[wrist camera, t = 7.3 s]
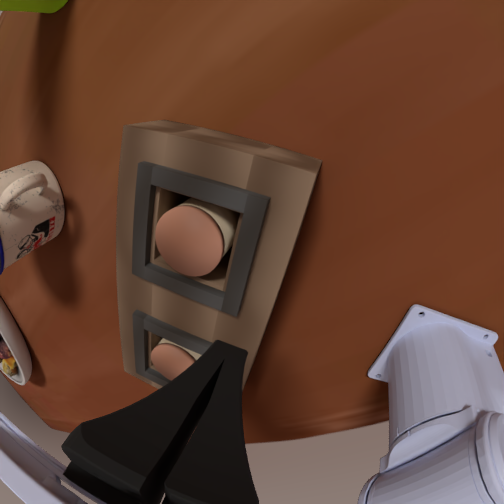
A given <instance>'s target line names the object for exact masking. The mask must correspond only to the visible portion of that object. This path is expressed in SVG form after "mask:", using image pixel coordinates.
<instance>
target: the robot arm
mask: <svg viewBox="0 0 504 504" xmlns="http://www.w3.org/2000/svg"><path fill="white" fill-rule="evenodd" d="M420 312H424V313H423V314H419V313H420ZM486 334H487V335H486ZM485 335H486V336H485ZM497 339H498V335H497V333H496V332H493V331H490V330H488V329H485V328H482V327H479V326H476V325H474V324H471V323H468V322H465V321H463V320H460V319H457V318H454V317H451V316H449V315H446V314H443V313H440V312H437V311H435V310H432V309H429V308H426V307H423V306H421V305H417V304H416V305H413V306H411V308H410V309H409V311H408V312H407V314H406V315H405V317H404V319H403V320H402V322H401V323H400V325H399V327H398V328H397V330H396V331H395V333H394V334H393V336H392V337H391V339H390V340H389V342H388V343H387V345H386V346H385V348H384V349H383V351H382V352H381V354H380V355H379V356H378V358H377V359H376V361H375V362H374V363H373V365H372V366H371V368H370V369H369V370H368V376H369V377H370V378H373V379H377V380H381V381H384V382H388V389H389V452H388V454H387V455H385V456H384V457H382V458H381V459H380V472H379V473H377V474H375V475H374V476H372V477H371V478H370V479H369V480H368V481H367V483H365V485H364V487H363V488H362V490H361V493H360V495H359V499H358V504H504V372H503V370H502V367H501V365H500V362H499V360H498V357H497V355H496V352H495V350H494V347H493V345H494V343H495V342H496V341H497ZM247 356H248V352H247V350H245V349H242V348H239V347H237V346H234V345H231V344H228V343H226V342H223V341H221V340H215V341H214V343H213V344H212V345H211V346H210V347H209V348H208V349H207V350H206V352H205V353H204V354H203V355H202V356H200V357H199V358H198V359H197V360H196V361H195V362H194V363H193V364H192V365H191V366H189V367H188V368H187V369H186V370H185V371H184V372H182V373H181V374H180V375H178V376H177V377H176V378H174V379H173V380H172V381H170V382H169V383H168V384H166V385H165V386H163V387H162V388H160V389H159V390H157V391H155V392H154V393H152V394H150V395H149V396H147V397H145V398H143V399H141V400H139V401H138V402H136V403H134V404H132V405H130V406H127V407H125V408H123V409H120V410H118V411H116V412H113V413H111V414H108V415H105V416H102V417H99V418H96V419H93V420H89V421H86V422H83V423H81V424H80V425H79V426H78V427H76V428H75V429H74V430H73V431H72V432H71V433H70V435H69V436H68V438H67V439H66V440H65V442H64V443H63V444H62V450H63V451H64V453H65V454H66V455H67V456H68V458H69V459H70V460H71V462H70V464H69V465H68V467H66V466H65V465H63V464H62V463H60V462H59V461H58V460H56V459H55V458H54V457H52V456H51V455H50V454H48V453H47V452H46V451H45V450H43V449H42V448H41V447H39V446H38V445H37V444H36V443H35V442H33V441H32V440H31V439H30V438H29V437H28V436H26V435H25V434H24V433H23V432H22V431H21V430H20V429H18V428H17V427H16V426H15V425H14V424H13V423H12V422H11V421H10V420H9V419H8V418H7V417H6V416H4V414H2V413H1V412H0V479H1V480H2V481H3V482H4V483H5V484H6V485H7V486H8V487H9V488H10V489H11V490H12V491H13V492H14V493H15V494H16V495H17V496H18V497H19V498H20V499H21V500H23V502H24V503H26V504H87V503H86V502H85V501H83V500H82V499H81V498H79V497H78V496H77V495H75V494H74V493H73V492H71V491H70V490H68V489H67V488H66V487H64V486H63V485H61V481H60V479H61V480H62V481H64V482H65V483H67V484H68V485H70V486H71V487H73V488H74V489H76V490H77V491H79V492H80V493H81V494H83V495H85V496H86V497H88V498H89V499H91V500H93V501H94V502H96V503H97V504H160V502H161V500H162V497H163V495H164V493H165V498H164V500H163V502H162V504H259V500H258V497H257V494H256V491H255V487H254V484H253V480H252V476H251V472H250V468H249V463H248V458H247V454H246V448H245V441H244V432H243V421H242V383H243V374H244V367H245V362H246V358H247ZM377 374H379V375H377ZM196 426H197V427H196ZM195 428H196V429H195ZM194 430H195V431H194ZM193 431H194V432H193ZM192 433H193V434H192ZM191 435H192V436H191ZM190 437H191V438H190ZM189 439H190V440H189ZM188 441H189V442H188ZM59 478H60V479H59Z"/></svg>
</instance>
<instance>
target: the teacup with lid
mask: <svg viewBox="0 0 504 504" xmlns="http://www.w3.org/2000/svg"><path fill="white" fill-rule="evenodd" d="M64 215H65V209H64V200H63V196H62V192H61V189H60V186H59V183H58V181H57V179H56V177H55V175H54V174H53V172H52V171H51V170H50V169H49V168H48V167H47V166H46V165H45V164H44V163H42V162H39V161H30V162H27V163H24V164H21V165H18V166H16V167H13V168H10V169H7V170H5V171H2V172H0V275H1V273H2V272H3V270H4V269H5V268H7V267H8V266H10V265H11V264H13V263H14V262H16V261H17V260H19V259H20V258H22V257H23V256H25V255H27V254H28V253H30V252H31V251H33V250H35V249H36V248H38V247H40V246H41V245H43V244H45V243H46V242H48V241H50V240H51V239H53V238H55V237H56V236H57V235H58V234H59V233H60V231H61V229H62V227H63V223H64Z"/></svg>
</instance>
